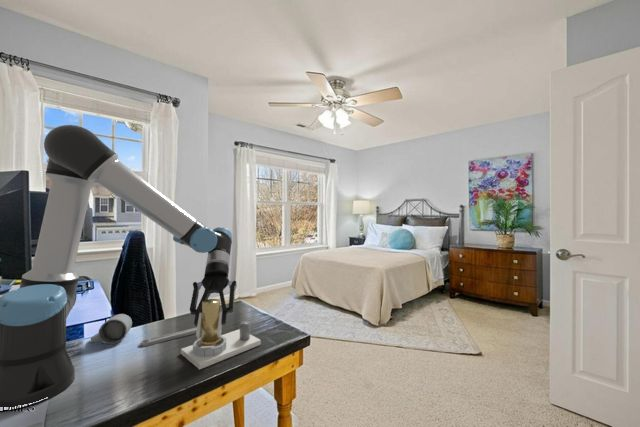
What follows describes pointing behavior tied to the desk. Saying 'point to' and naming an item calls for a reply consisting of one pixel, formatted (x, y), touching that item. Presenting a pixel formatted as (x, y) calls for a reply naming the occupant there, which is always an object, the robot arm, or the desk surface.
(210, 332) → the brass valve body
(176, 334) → the adjustable wrench
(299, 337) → the desk surface
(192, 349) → the board
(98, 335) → the ceramic mug
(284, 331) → the desk surface
